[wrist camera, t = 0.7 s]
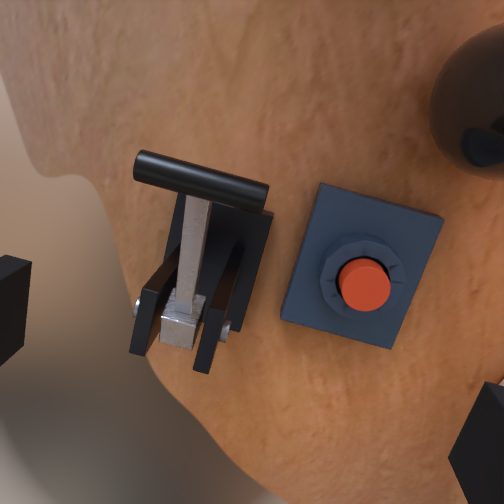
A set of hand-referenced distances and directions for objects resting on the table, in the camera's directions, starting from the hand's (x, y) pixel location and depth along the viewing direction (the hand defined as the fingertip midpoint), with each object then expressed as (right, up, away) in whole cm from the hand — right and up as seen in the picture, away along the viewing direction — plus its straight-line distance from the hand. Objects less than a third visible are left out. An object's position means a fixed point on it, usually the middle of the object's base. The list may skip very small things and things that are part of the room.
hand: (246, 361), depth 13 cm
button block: (+9, +2, +26) cm, 28 cm away
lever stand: (-3, +2, +27) cm, 27 cm away
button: (+9, +1, +23) cm, 24 cm away
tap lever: (-3, +3, +13) cm, 13 cm away
